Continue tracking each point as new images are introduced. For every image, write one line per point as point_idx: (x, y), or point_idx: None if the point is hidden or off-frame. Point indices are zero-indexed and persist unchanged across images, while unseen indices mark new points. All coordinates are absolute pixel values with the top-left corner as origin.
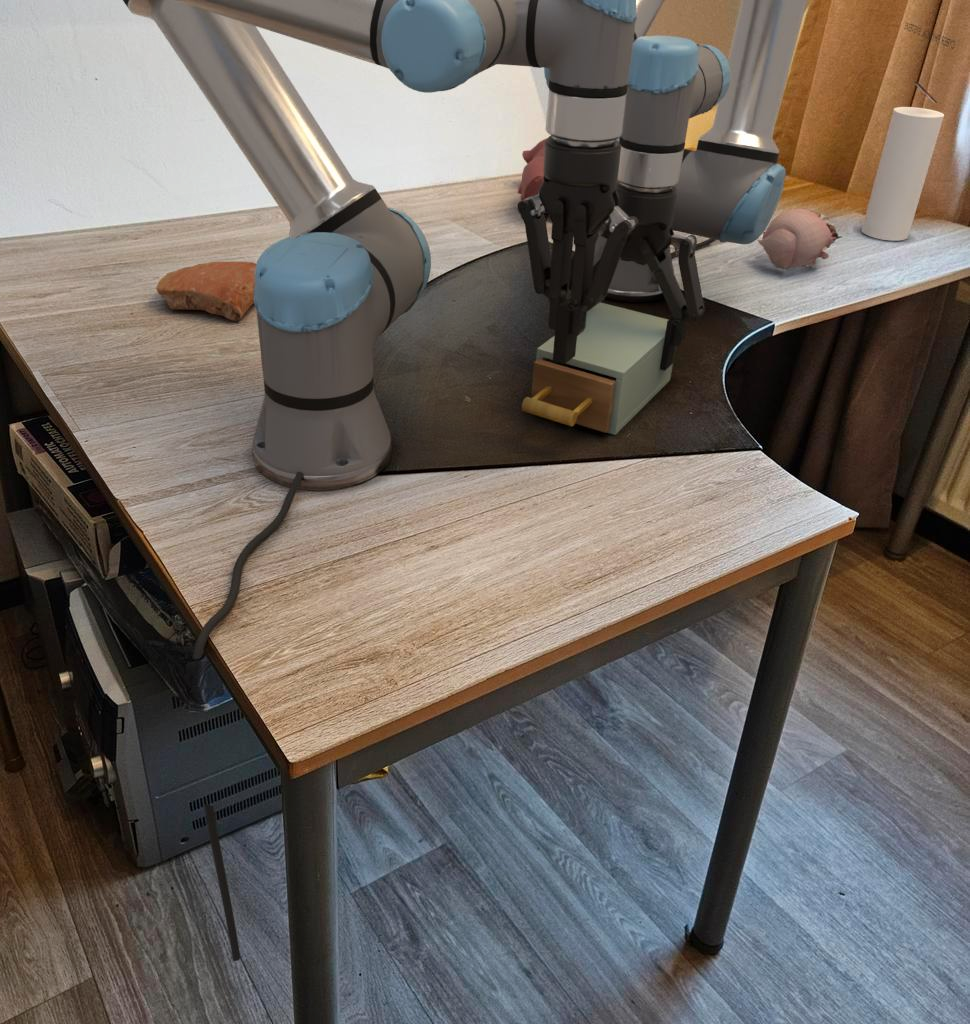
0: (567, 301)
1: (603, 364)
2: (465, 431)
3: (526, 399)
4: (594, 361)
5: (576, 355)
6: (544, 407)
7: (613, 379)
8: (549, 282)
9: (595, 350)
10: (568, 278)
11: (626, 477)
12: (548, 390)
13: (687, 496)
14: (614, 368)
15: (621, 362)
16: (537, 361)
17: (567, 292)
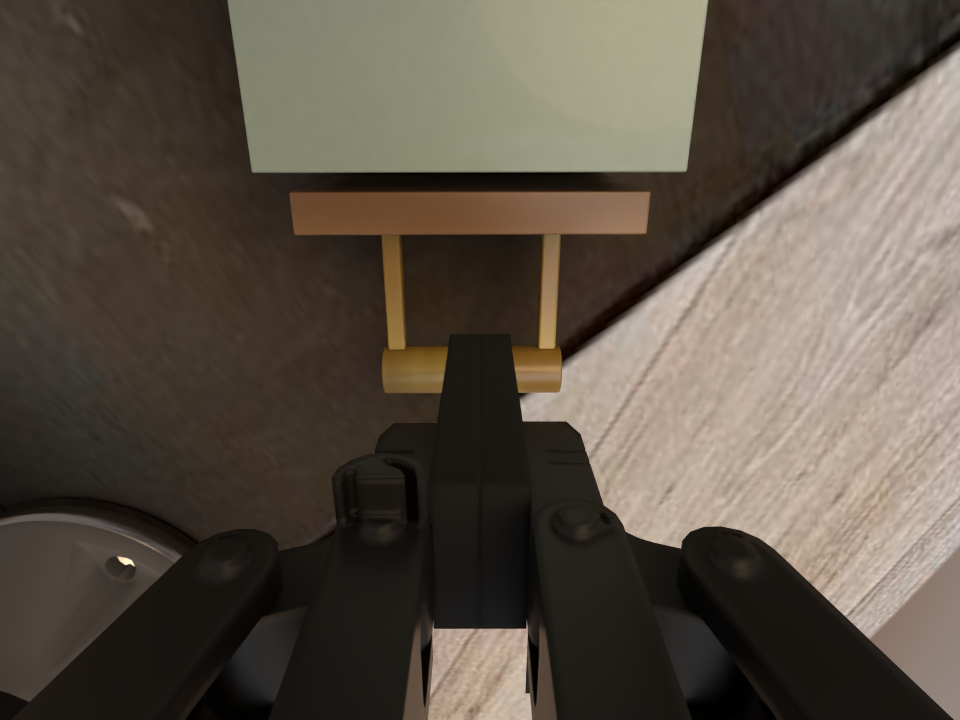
0: (456, 540)
1: (577, 144)
2: (261, 378)
3: (390, 385)
4: (530, 138)
5: (434, 130)
6: None
7: None
8: (276, 661)
9: (483, 10)
10: (414, 647)
11: (710, 346)
12: (400, 251)
13: (870, 342)
14: (635, 154)
15: (643, 66)
16: (300, 218)
17: (427, 546)
